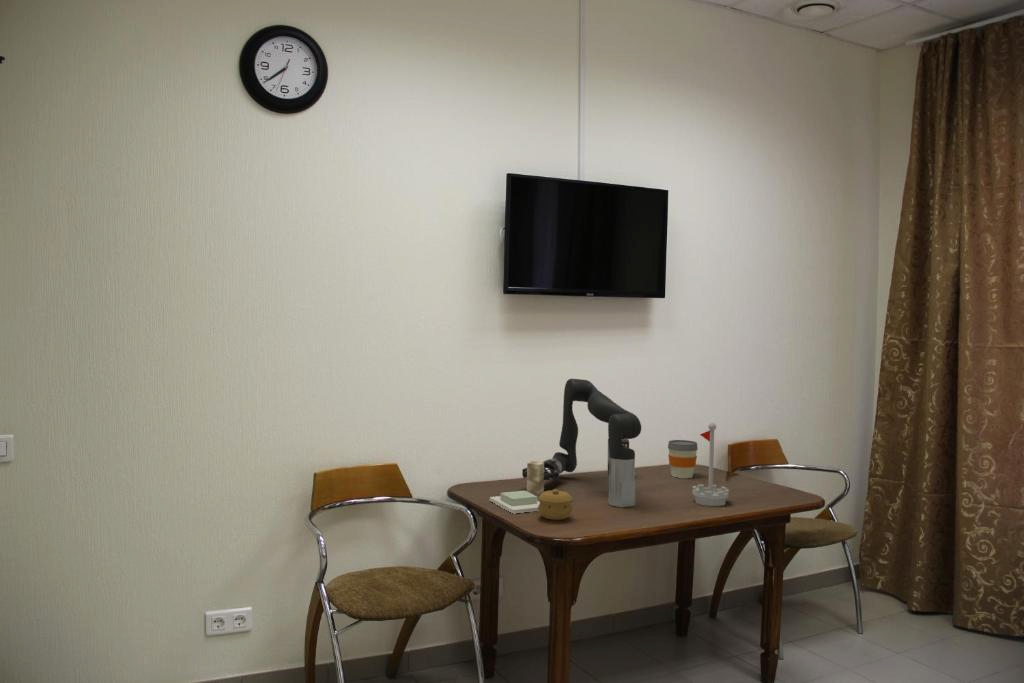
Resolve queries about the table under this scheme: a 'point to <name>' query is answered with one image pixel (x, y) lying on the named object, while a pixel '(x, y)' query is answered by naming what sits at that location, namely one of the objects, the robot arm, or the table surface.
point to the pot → (555, 504)
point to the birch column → (535, 477)
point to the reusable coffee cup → (682, 458)
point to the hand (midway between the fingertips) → (534, 476)
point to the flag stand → (710, 479)
